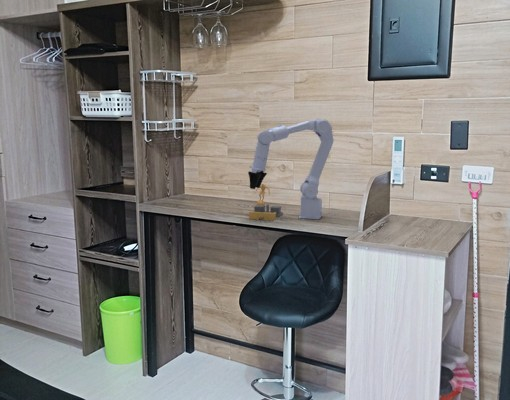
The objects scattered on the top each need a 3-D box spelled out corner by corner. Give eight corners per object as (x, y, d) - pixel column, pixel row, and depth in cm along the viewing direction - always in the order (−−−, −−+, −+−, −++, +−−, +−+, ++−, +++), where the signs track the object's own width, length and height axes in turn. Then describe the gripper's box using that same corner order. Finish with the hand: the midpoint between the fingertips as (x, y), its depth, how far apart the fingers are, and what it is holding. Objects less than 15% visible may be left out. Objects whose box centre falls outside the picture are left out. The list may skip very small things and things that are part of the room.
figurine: (251, 208, 254) (251, 184, 252) (257, 206, 259) (257, 182, 257) (266, 209, 250) (266, 185, 248) (272, 207, 255) (272, 183, 253)
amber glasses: (251, 217, 233) (251, 210, 232) (276, 218, 230) (276, 212, 229) (248, 218, 229) (248, 212, 228) (274, 220, 226) (274, 213, 225)
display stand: (256, 212, 243) (256, 202, 242) (283, 214, 239) (283, 203, 239) (251, 215, 236) (251, 205, 235) (279, 217, 233) (279, 206, 232)
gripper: (256, 155, 234) (250, 185, 236) (247, 156, 220) (241, 187, 222) (271, 159, 232) (265, 188, 234) (263, 159, 218) (256, 190, 220)
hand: (254, 188), depth 228 cm, fingers open, 7 cm apart
